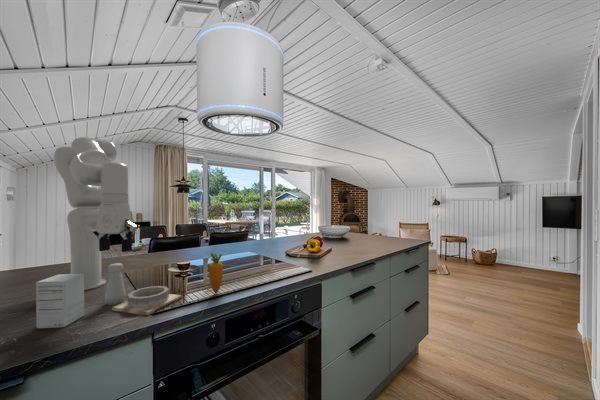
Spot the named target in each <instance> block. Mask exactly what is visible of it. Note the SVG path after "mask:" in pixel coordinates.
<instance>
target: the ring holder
mask: <svg viewBox="0 0 600 400" xmlns="http://www.w3.org/2000/svg"><path fill="white" fill-rule="evenodd" d="M181 297H182V298H183V296H182V294H173V293H170V288H169V287H168V286H166V285H165V286H163V285H154V286H147V287H142V288H141V287H140V288H138V289H136V290H135V289H134V290H133V291H130V292H129V293H128V294H127V301H123V302H121V303H120V304H115V305H113V306H112V307H111V311H114V312H121V313H127V314H128V313H130V314H134V315H135V314H137V315H142V316H150V315H151V314H153V313H152V312H153V311H155V310H156V309H158V308H160V307H162V306H164V305H166V304H168V303H171V302H173V301H175V300H177V299H179V298H181ZM182 298H181V299H182ZM179 300H180V299H179ZM177 301H178V300H177ZM175 302H176V301H175ZM173 303H174V302H173ZM171 304H172V303H171Z"/></svg>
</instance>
